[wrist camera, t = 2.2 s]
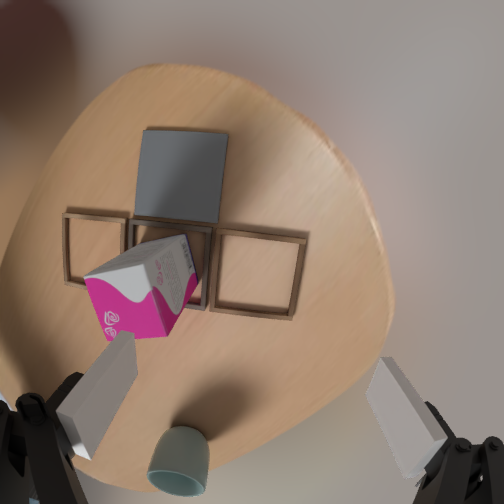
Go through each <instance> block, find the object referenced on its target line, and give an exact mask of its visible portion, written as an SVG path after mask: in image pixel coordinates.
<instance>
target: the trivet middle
mask: <svg viewBox="0 0 504 504" xmlns="http://www.w3.org/2000/svg"><path fill="white" fill-rule="evenodd" d="M135 225H144V226H153V227H162V228H171V229H180V230H189V231H198V232H206V241H205V252H204V264H203V277H202V291H201V304H199V303H192V302H187V304H186V305H185V307H184V308H189V309H195V310H202V311H205V309H206V297H207V283H208V271H209V259H210V248H211V238H212V227H206V226H197V225H188V224H179V223H170V222H160V221H150V220H140V219H129V236H128V250H129V249H131V248H133V247H134V243H135Z"/></svg>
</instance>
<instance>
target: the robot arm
mask: <svg viewBox="0 0 504 504" xmlns="http://www.w3.org/2000/svg"><path fill="white" fill-rule="evenodd" d="M137 375H138V370H137V360H136V349H135V336H134V333H132V332H127V331H123V330H121V331H120V332H119V333H118V335H117V336H116V337H115V338H114V339H113V341H112V342H111V343H110V344H109V345H108V346H107V348H106V349H105V350H104V351H103V352H102V354H101V355H100V356H99V357H98V358H97V360H96V361H95V362H94V363H93V364H92V366H91V367H90V368H89V369H88V371H87V372H86V373H85V374H82V373H79V372H75V373H73V374H71V375H70V376H68V377H67V378H66V379H65V380H64V382H63V383H62V384H61V385H60V386H59V387H58V390H56V391H55V392H54V393H53V394H52V396H51V397H50V398H49V399H48V400H47V402H46V403H45V401H44V399H43V398H42V397H41V396H40V395H38V394H35V393H26V394H23V395H21V396H20V397H19V398H18V399H17V400H16V405H15V406H16V408H17V410H18V411H17V412H15V411H11V410H10V409H9V407H8V405H7V404H6V403H5V402H4V401H2V400H0V504H38V503H40V504H88V502H87V499H86V497H85V495H84V492H83V490H82V488H81V485H80V482H79V480H78V477H77V475H76V472H75V469H74V466H73V463H72V461H71V459H72V458H73V457H74V456H75V454H77V455H80V456H82V457H84V458H87V459H89V460H91V459H92V457H93V455H94V453H95V451H96V449H97V448H98V446H99V444H100V442H101V440H102V438H103V436H104V434H105V433H106V431H107V429H108V427H109V425H110V423H111V421H112V420H113V418H114V416H115V414H116V412H117V411H118V409H119V407H120V405H121V403H122V402H123V400H124V398H125V396H126V394H127V393H128V391H129V389H130V387H131V386H132V384H133V382H134V380H135V378H136V377H137ZM366 398H367V400H368V402H369V404H370V406H371V408H372V410H373V412H374V414H375V416H376V418H377V420H378V423H379V425H380V427H381V429H382V431H383V433H384V435H385V438H386V440H387V442H388V444H389V446H390V448H391V451H392V453H393V455H394V457H395V459H396V461H397V464H398V466H399V468H400V471H401V473H402V475H403V477H404V479H408V478H411V477H415V476H418V475H419V473H420V472H421V471H422V470H423V469H425V471H426V474H425V475H424V476H423V477H422V478H421V479H420V481H419V482H418V483H417V484H416V487H417V486H418V485H419V484H420V483H421V484H420V487H419V490H418V492H417V495H416V497H415V499H414V502H413V504H504V445H503V442H502V441H501V440H500V439H499V438H497V437H494V436H491V437H488V438H486V440H485V441H484V442H483V444H480V445H472V444H471V442H469V441H468V440H467V439H465V438H456V436H455V435H454V433H453V432H452V430H451V429H450V428H449V426H448V425H447V423H446V422H445V421H444V420H443V418H442V416H441V415H439V412H438V411H437V409H436V408H435V407H434V406H433V405H432V404H430V403H429V402H428V401H427V402H424V401H423V400H422V398H421V397H420V396H419V394H418V393H417V391H416V390H415V389H414V387H413V386H412V384H411V383H410V381H409V380H408V379H407V377H406V376H405V374H404V373H403V372H402V370H401V369H400V368H399V366H398V365H397V364H396V362H395V361H394V359H393V358H392V357H381V358H380V360H379V362H378V365H377V368H376V370H375V373H374V375H373V378H372V380H371V383H370V385H369V387H368V390H367V392H366ZM481 476H483V480H482V481H481V480H480V477H481Z"/></svg>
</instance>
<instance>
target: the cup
mask: <svg viewBox="0 0 504 504" xmlns="http://www.w3.org/2000/svg"><path fill="white" fill-rule="evenodd" d="M209 457H210V453H209V446H208V442H207V440H206V438H205V437H204V436H203V435H202V434H201V433H200V432H199V431H198V430H196V429H194V428H191V427H187V426H177V427H173V428H170V429H168V430H167V431H165V432H164V434H163V435H162V436H161V437H160V439H159V441H158V443H157V445H156V448H155V450H154V453H153V455H152V458H151V461H150V464H149V467H148V471H147V478H148V480H149V482H150V483H151V484H152V485H154V486H155V487H156V488H158V489H160V490H161V491H164V492H166V493H169V494H172V495H176V496H183V497H193V496H199V495H201V494H203V492H204V491H205V489H206V483H207V476H208V469H209Z"/></svg>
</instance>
